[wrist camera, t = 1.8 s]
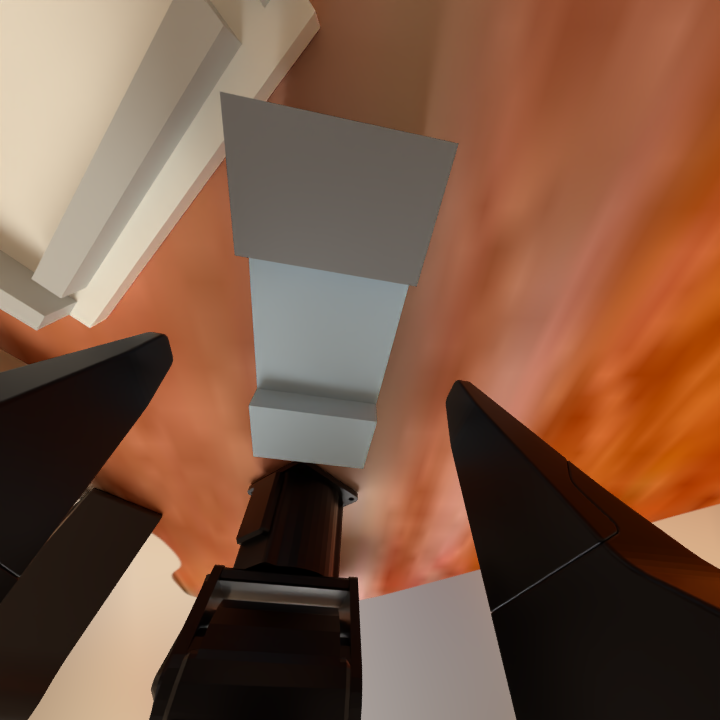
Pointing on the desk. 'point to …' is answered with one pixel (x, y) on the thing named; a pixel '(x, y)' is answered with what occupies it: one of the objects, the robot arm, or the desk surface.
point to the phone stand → (64, 594)
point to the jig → (118, 133)
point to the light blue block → (326, 265)
